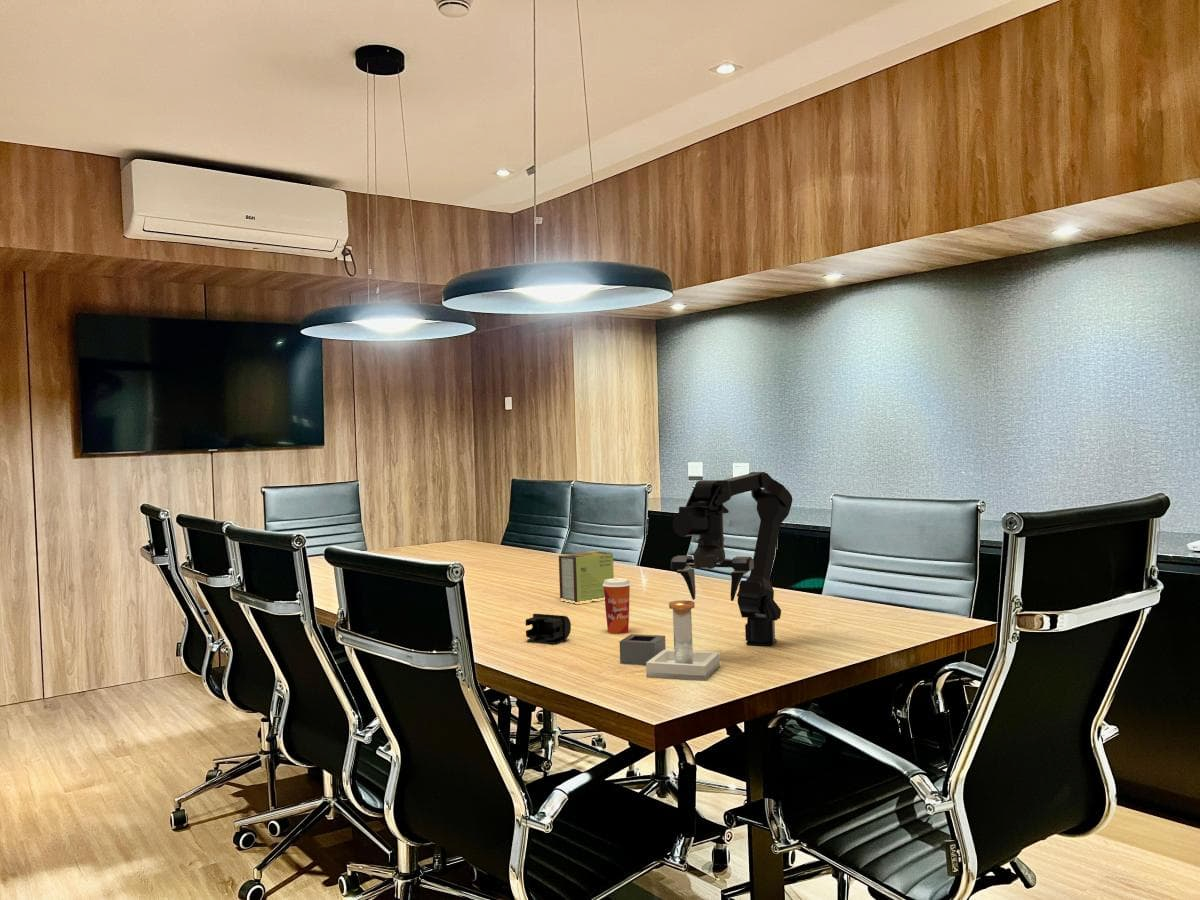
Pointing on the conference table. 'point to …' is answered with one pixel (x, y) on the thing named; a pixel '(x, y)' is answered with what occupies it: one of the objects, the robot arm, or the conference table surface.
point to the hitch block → (640, 648)
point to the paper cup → (617, 604)
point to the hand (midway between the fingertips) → (712, 600)
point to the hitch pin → (682, 631)
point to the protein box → (584, 575)
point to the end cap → (548, 629)
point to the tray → (683, 666)
